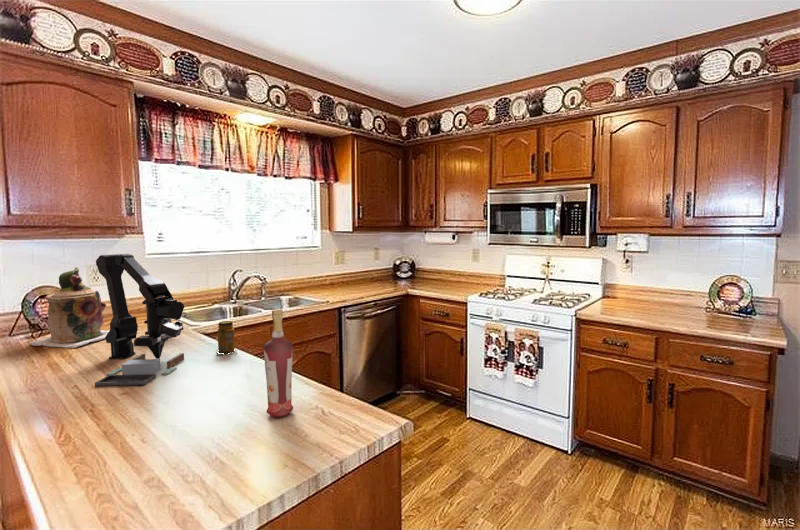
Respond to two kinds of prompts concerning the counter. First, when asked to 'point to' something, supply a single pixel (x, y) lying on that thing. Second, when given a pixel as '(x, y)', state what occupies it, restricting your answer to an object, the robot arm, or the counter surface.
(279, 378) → the liquor
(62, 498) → the counter surface
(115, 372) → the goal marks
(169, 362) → the brown wooden beams
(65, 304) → the cookie jar
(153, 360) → the block
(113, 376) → the tray
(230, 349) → the condiment
